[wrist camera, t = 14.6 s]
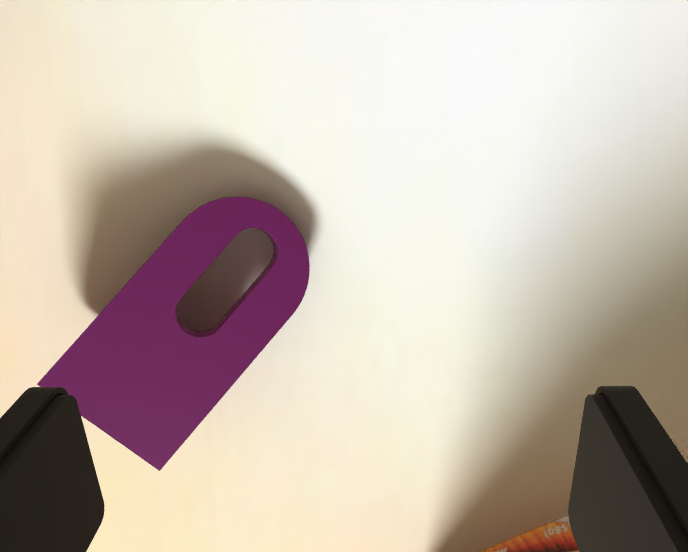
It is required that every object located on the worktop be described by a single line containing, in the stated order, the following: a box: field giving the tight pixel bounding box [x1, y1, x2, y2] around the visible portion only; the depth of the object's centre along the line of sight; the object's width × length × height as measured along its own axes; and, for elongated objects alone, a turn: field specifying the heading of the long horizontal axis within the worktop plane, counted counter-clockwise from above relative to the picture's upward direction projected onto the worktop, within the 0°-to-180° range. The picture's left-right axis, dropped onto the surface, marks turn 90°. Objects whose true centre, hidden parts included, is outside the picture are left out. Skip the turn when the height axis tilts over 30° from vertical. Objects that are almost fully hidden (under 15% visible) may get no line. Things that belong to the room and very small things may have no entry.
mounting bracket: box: [37, 197, 309, 471], centre depth 43 cm, size 9×8×18 cm
